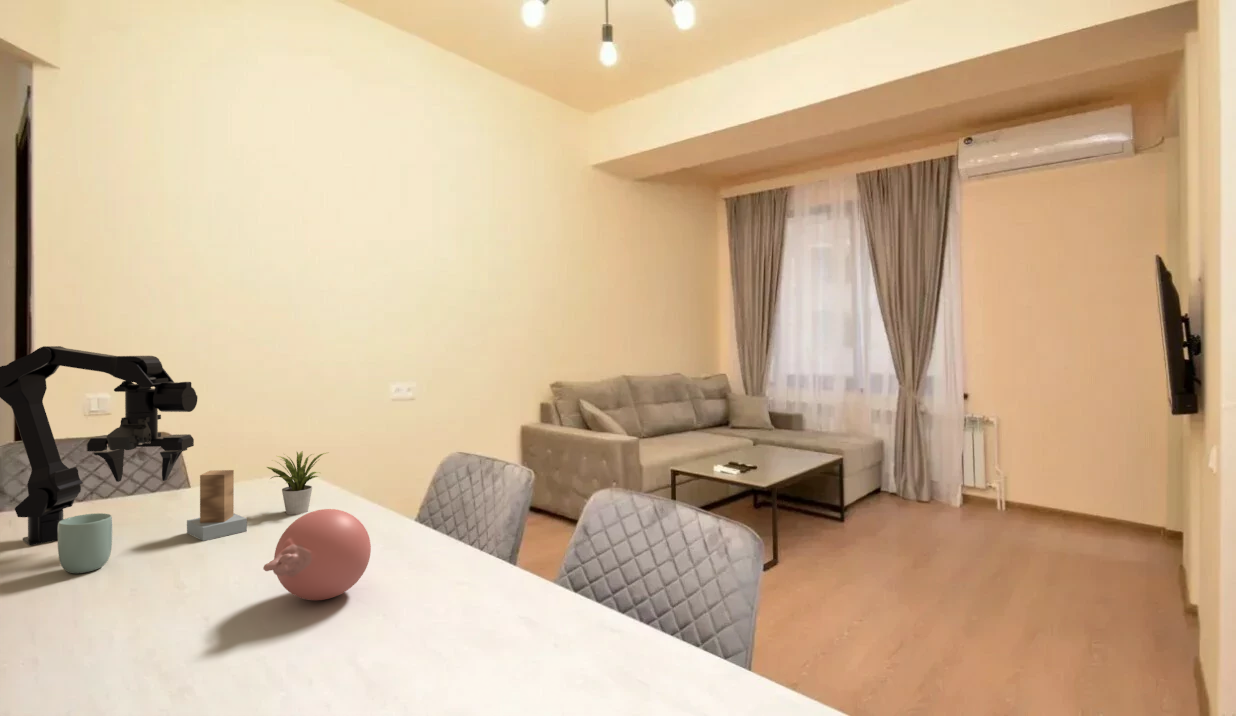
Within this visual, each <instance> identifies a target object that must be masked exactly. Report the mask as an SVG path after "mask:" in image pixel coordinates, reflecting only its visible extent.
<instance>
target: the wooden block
mask: <svg viewBox="0 0 1236 716" xmlns="http://www.w3.org/2000/svg"><path fill="white" fill-rule="evenodd" d="M234 474H235V473H234V469H226V470H225V469H221V470H219V469H218V470H209V471H207V472H204V473H201V474H200V475H199V478H200V479H199V503H200V504H199V518H200V523H213V522H225V521H227V520H228V519H230V518H231V517H233V516H234V514H235V513H234V510H235V507H234V504H235V503H234V501H235V500H234V490H235V488H234V486H235V485H234V478H235V477H234Z"/></svg>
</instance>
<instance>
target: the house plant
mask: <svg viewBox="0 0 1236 716" xmlns="http://www.w3.org/2000/svg"><path fill="white" fill-rule="evenodd" d="M329 453H330V452H323V453H320V454H319V455H316V457H314V458H313V460H312V461H310V463H309V465H308V461H309V458H310V457H311V456H312V455H314V453H312V454H310V455H308V456H307V457H306V458H305V460H304V462H303V464H302V461H303V456H304V451H303V450H302V451H300V452H298V451H296V465H295V463H294V461H293V460H292V458H290V457H289V456H288V455H287V454H286V453H283V455H285V456H286V457H287V458H286V457H283V456H280V455H277V457H278V458H280V459H279V460H281V461H282V460H283V462H284V464H285V466H284V465H282V464H281V463H280V462H279V461H277V460H274V459H272V461H273V462H275V463H277V464H279V465H280V466H282V468H283V469H285V471H286V472H287V473H288V474H289V475H288V474H287V473H286V472H284V471H282V470H280V469H278V468H275V467H272V466H266V468H267V469H268V470H271V471H272V472H273V473H274V474H276V475H274V476H272V477H270V479H269V480H271V479H272V478H273V479H274V478H278V477H279V478H281V479H282V480H284V481H285V484H287V485H288V486H286V487H283V488H282V489H281V492H282V497H283V504H284V509H285V510H284V511H285V514H287V515H300V513H302V514H305V513H307V512H309V507H310V502H311V496H312V492H313V491H312V490H313V486H312V485H308V484H307V483H308V482H309V481H310V480H312V479H314V478H317V477H318V478H320V476H318V475H315V474H318V473H319V474H321V472H319V471H312V472H310V470H311V469H312V468H313V467H314V466H315V464H316V463H317V462H318V461H320V459H321V458H320V457H321V456H323V455H325V454H329ZM307 465H308V466H307ZM309 472H310V473H309ZM304 512H305V513H304Z"/></svg>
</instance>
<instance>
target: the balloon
mask: <svg viewBox="0 0 1236 716" xmlns="http://www.w3.org/2000/svg"><path fill="white" fill-rule="evenodd" d="M371 552H372V545H371V539H370V535H369V533H368V530H367V528H366V527H365V525H364V524H363V523H362V522H361V521H360V519H358V518H357V517H356V516H355V515H354V514H351V513H349V512H347V511H344V510H340V509H335V508H324V509H316V510H314V511H313V510H312V511H310V512H308V513H306V514H305V513H304V514H303V515H302V516H300V517H298V518H297V519H295V520H294V521H293V522H292V523H291V524H290V525H288V527H287V528H286V529H285V530H284V532H282V535H281V536H280V538H279V540H278V542H277V543H276V547H275V550H274V556H273V557H274V558H273V559H272V560H271V561H269V562H268V563H266V564H264V565H263V567H262V568H263V569H262V570H264V571H265V572H270V571H273V574H274V575H276V577H277V579H278V581H279V582H280V584H281V585H282V586H283V588H284V589H285V590H286V591H287V592H288V593H289V594H291V595H293V596H295V597H297V598H300V599H302V600H308V601H324V600H325V601H326V600H329V599H333V598H335V597H338V596H340V595H342V594H344V593H345V592H347V591H349V590H350V589H351V588H352V587H353V586H355V584H357V583H358V582H359V580H360V579H361V578H362V577H363V575H364V573H365V572H366V570H367V568H368V565H369V562H370V558H371Z"/></svg>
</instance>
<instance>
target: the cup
mask: <svg viewBox="0 0 1236 716" xmlns="http://www.w3.org/2000/svg"><path fill="white" fill-rule="evenodd" d="M112 546H113V515H111V514H110V513H103V512H101V513H99V512H97V513H85V514H79V515H75V516H70V517H67V518H63V520H61V521H59V523H58V540H57V552H58V553H57V554H58V559H59V560H58V561H59V564H60V566H61V568H62V569H63V570H64V571H66V572H68V573H71V574H85V573H90V572H93V571H96V570H99V569H100V568H102V567H104V566H105V565H106V564H107V563H108V561H109V559H110V557H111V553H112Z"/></svg>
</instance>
